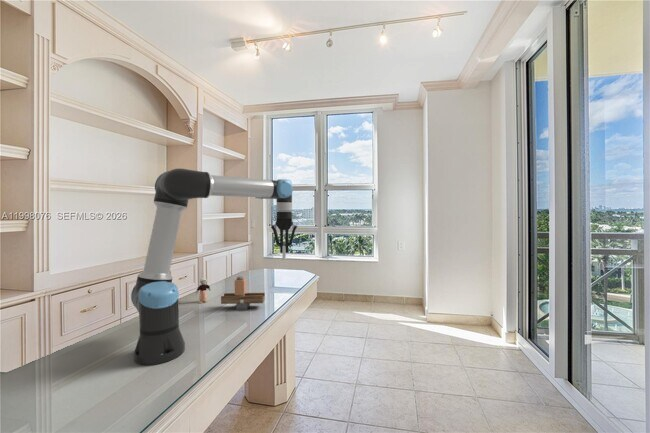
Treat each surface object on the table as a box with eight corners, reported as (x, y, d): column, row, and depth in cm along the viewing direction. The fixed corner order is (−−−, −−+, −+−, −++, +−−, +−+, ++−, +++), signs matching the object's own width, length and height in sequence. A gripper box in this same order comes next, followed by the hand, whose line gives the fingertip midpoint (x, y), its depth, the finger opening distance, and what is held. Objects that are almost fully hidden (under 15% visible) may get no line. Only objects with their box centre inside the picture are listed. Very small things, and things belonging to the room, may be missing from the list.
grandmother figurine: (199, 304, 155) (198, 279, 154) (195, 303, 157) (194, 278, 157) (212, 300, 161) (212, 277, 160) (208, 299, 163) (208, 276, 163)
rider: (244, 298, 147) (243, 278, 147) (234, 298, 147) (234, 278, 147) (246, 295, 152) (245, 276, 151) (237, 295, 151) (236, 276, 151)
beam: (262, 309, 146) (262, 296, 146) (220, 310, 146) (220, 296, 146) (265, 305, 153) (264, 292, 153) (225, 305, 153) (225, 292, 153)
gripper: (298, 211, 152) (298, 258, 153) (272, 211, 152) (272, 258, 153) (297, 211, 145) (297, 260, 146) (269, 211, 145) (269, 260, 145)
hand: (284, 259), depth 149 cm, fingers closed
